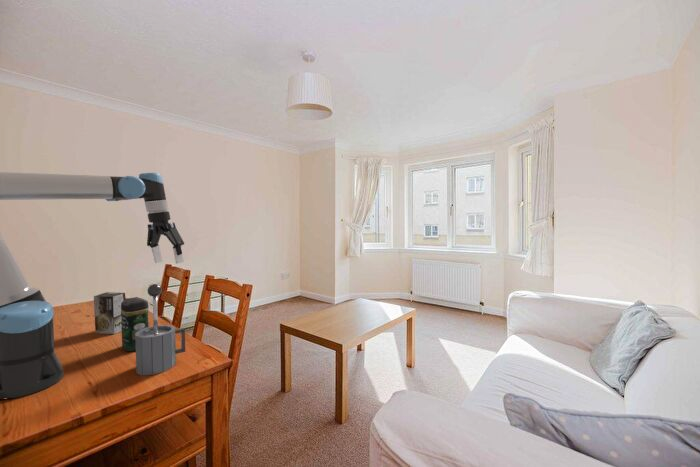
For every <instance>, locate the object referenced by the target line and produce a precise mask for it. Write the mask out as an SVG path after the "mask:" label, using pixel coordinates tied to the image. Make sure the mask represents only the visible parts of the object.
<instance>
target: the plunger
mask: <svg viewBox="0 0 700 467" xmlns="http://www.w3.org/2000/svg"><path fill="white" fill-rule="evenodd" d="M162 291H163V287H162V286H161V285H160V284H157V283H152V284H151V285H149V286H148V287H147V294H148V295H149V296H150V297H152V319H153V321H152V324H153V325H152V326H153V331H149V332H146V333H144V334H142V335H141V336H155V335H160V334H163V333H166V332H169V330H166V329H159V330H158V325H159V322H158V320H159V318H158V317H159V316H158V314H159V313H158V297H159V295H161V294H162Z"/></svg>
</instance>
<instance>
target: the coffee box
mask: <svg viewBox="0 0 700 467" xmlns="http://www.w3.org/2000/svg"><path fill="white" fill-rule="evenodd" d="M125 299H126V293H125V292H109V291H107V292H103V293H99V294H97V295H93V309H94V310H93V312H94V330H95V332H94V333H95V334H105V335H106V334H107V335H109V334H110V335H115V334H118V333H121V332H122V323H121V303H122V302H123V301H124V300H125Z"/></svg>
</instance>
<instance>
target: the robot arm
mask: <svg viewBox="0 0 700 467" xmlns="http://www.w3.org/2000/svg"><path fill="white" fill-rule="evenodd" d="M137 199H140V200H141V199H143V200H144V206H145V209H146V210H145V211H146V212H147V219H148V222H149V223H148V224H147V237H146V238H147V239H146V240H147V241H146V246H147V247H150V248H151V253H152V256H153V260H154V263H155V264H156V263H160V262H163V257H162V253H161V249H160V244H159V242H160V239H161V236H164V237H166V238H167V239H168V241H169V242H170V243H171V244H172V249H173V250H172V251H173V255H174V260H175V264H181V263H183V262H184V257H183V250H182V246H184V245H185V242H184V240H183V238H182V236H181V234H180V233H179V230H178V229H177V227H176V223H175V222H173V221H172V222H169V221H170V220H171V215H170V211H168V210H169V207H168V201H167V196H166V192H165V185H164V182H163V177H162V174H160V173H159V172H143V173H139V174H138V177H137V176H134V175H125V176H115V175H114V176H109V175H87V174H86V175H82V174H59V173H58V174H57V173H55V174H54V173H32V172H31V173H30V172H9V171H8V172H5V171H3V172H2V171H0V201H9V200H10V201H13V200H15V201H18V200H20V201H23V200H26V201H27V200H36V201H37V200H38V201H39V200H105V201H106V202H107V201H108V202H119V201H128V200H137ZM54 315H55V310H54V308H53V305H52V304H51V303H50V302H49V301H46V299H45V297H44V295H43V294H42V292H41V290H40V289H39V288H38V287H35V286H31V285H30V284H29V282H28V280H27V279H26V277H25V275H24V273H23V272H22V270H21V268H20V266H19V265H18V263H17V261H16V259H15V258H14V256H13V254H12V252H11V250H10V249H9V247H8V245H7V243H6V242H5V240H4V238H3V236H2V234H1V233H0V399H4V398H12V399H15V398H21V397H25V396H29V395H31V394H34V393H38V392H40V391H43V390H45V389H48V388H50V387H51V386H54V385H55V384H57V383H58V382H60V381H61V380H62V378H63V377H64V367H63V365H62V363H61V362H60V360H59V358H58V356H57V354H56V353H55V333H54V332H55V331H54Z"/></svg>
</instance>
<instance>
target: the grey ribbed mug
mask: <svg viewBox="0 0 700 467" xmlns="http://www.w3.org/2000/svg"><path fill="white" fill-rule="evenodd" d="M159 329H166V330H169V332H166V333H163V334H160V335H155V336H141V335H142V334H144V333H146V332H149V331H153V325H151V326H149V327H147V328H144V329H141V330H139V331H138V332H136V333H135V340H136V351H135V365H136V366H135V369H136V374H137V375H141V376H151V375H152V376H153V375H157V374H161V373H164V372H166V371H168V370H170V369H172V368H173V367H174V366H176V363H177V360H176V357H177V354H180V353H184V352H185V353H186V328H185V327H182V328H176V327H175V325H171V324H158V330H159ZM176 334H180V337H181V338H180V339H181V340H180V344H181V346H180V347H181V348H176Z"/></svg>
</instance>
